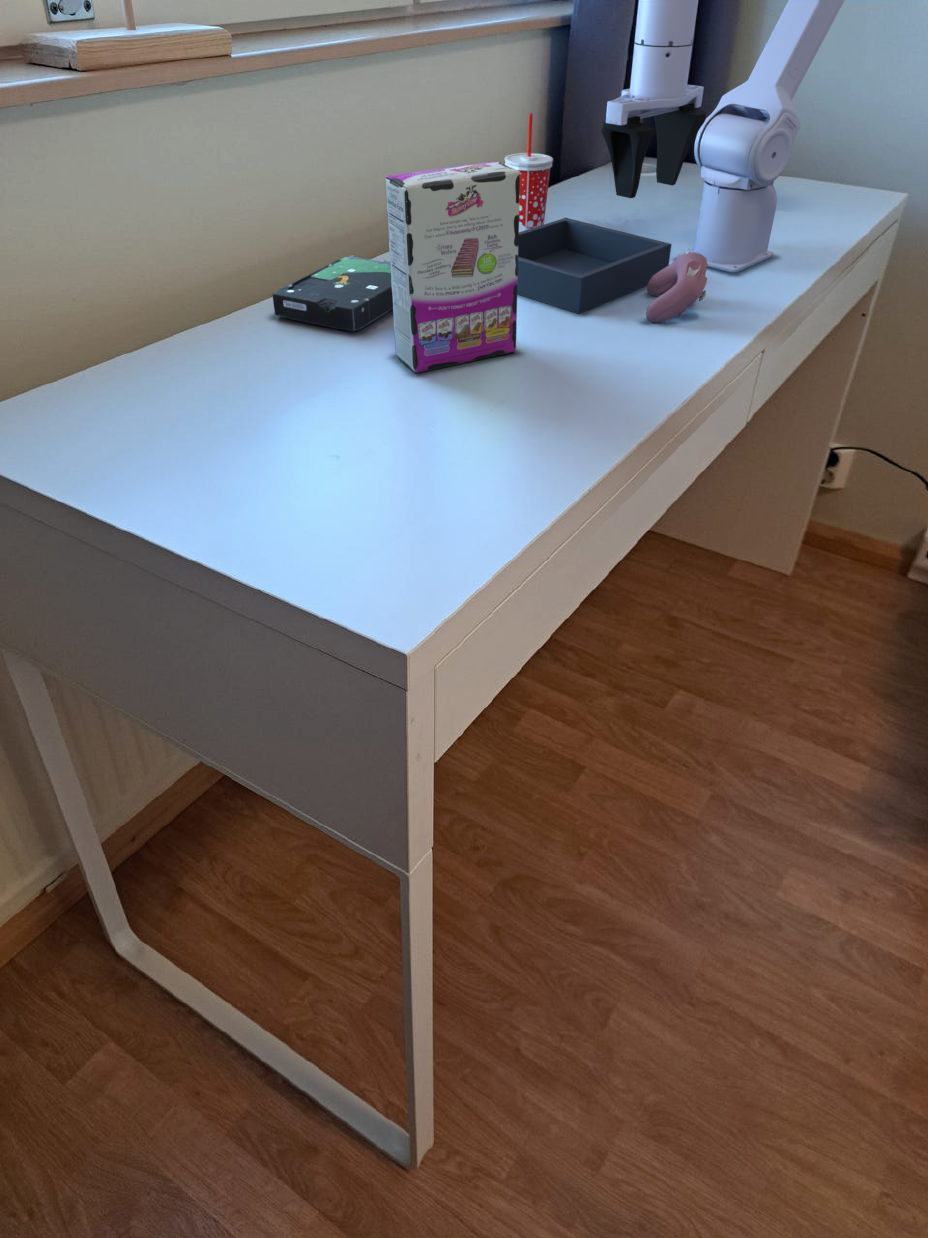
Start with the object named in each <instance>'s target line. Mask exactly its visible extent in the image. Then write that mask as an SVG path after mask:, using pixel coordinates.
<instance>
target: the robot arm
mask: <svg viewBox="0 0 928 1238" xmlns="http://www.w3.org/2000/svg"><path fill="white" fill-rule="evenodd" d="M844 2H845V0H788V1H787V2H786V5H785V6H784V9H783V11H782V13H781V14H780V17H779V18H778V21H777V23H776V24H775V27H774V28H773V30H772V32H771V34H770V36H769V38H768V40H767V41H766V43H765V46H764V47H763V50H762V52H761V54H760V56H759V57H758V60H757V61H756V64H755V65H754V68H753V69H752V71H751V73H750V75H749V77H748V79H747V80H746V81H745V82H743V83H742V84H740V85H738V86H736V87H735V88H733V89H730V90H729V91H727V92H726V93H725V94H723V95H722V96H721V98H720V100H719V102H718V104H717V106H716V107H715V109H714V110H713V111H712V113H710V114H709V115H708V116H707V112H706V111H704V110H697V108H701V107H702V103H703V95H704V89H705V86H701V85H694V84H688V79H689V72H690V65H691V58H692V49H693V42H694V35H695V27H696V20H697V14H698V5H699V0H638V5H637V15H636V23H635V24H636V25H635V35H634V44H633V45H634V46H633V55H632V65H631V75H630V84H629V85H630V86H629V88H626V89H622V90H621V94H620V97H617V98H615V99H612V100H609V101H607V103H606V112H605V119H602V120H601V122H600V132H601V135H602V136H603V139H604V142H605V143H606V147H607V149H608V153H609V156H610V160H611V166H612V167H611V168H612V172H613V180H614V187H615V195H616V196H618V197H621V198H622V197H623V198H626V199H634V198H636V195H637V192H638V190H639V186H640V180H641V175H642V169H643V165H644V161H645V159H646V154H647V151H648V149H649V146H650V143H651V141H652V140H653V137H654V135H656V166H655V175H656V177H655V178H656V183H659V184H662V185H668V186H675V185H676V183H677V181H678V179H679V176H680V174H681V170H682V168H683V165H684V162H685V159H686V157H687V155H688V152H689V149H690V147H691V145H692V143H693V142H694V149H693V153H694V155H693V156H694V159H695V162H696V164H697V167H699V168H700V178H702V179H704V182H703V188H702V194H701V202H700V208H699V209H700V210H699V213H698V220H697V221H698V222H697V228H696V233H695V234H696V235H695V241H694V248H693V249H689V251H690V252H691V253H692V252H695V253H699V254H701V255H703V256H704V257H706V259H707V268H708V267H709V268H712V269H716V270H720V271H724V272H727V273H732V274H734V273H735V274H736V273H738V272H740V271H742V270H745V269H748V268H749V267H752V266H754V265H756V264H758V263H761V262H763V261H765V260H768V259H770V258H772V257H774V254H775V253H774V251H771V250H769V246H770V245H769V244H770V239H771V234H772V229H773V225H774V220H775V215H776V209H777V205H778V204H777V203H778V195H777V191H776V189H775V186H774V182H775V181H776V180H777V179H778V178H779V177H780V176H781V174H782V173H783V171H784V169H785V168H786V167H787V164H788V162H789V160H790V156H791V153H792V147H793V144H794V140H795V138H796V136H797V134H798V132H799V131H800V129H801V122H800V119H799V116H798V112H797V111H796V108H795V105H794V104H793V102H792V101H793V98H794V97H795V95H796V93H797V91H798V89H799V87H800V86H801V84H802V82H803V80H804V78H805V76H806V74H807V72H808V71H809V69H810V67H811V64H812V63H813V61H814V59H815V57H816V55H817V53H818V52H819V50H820V48H821V46H822V44H823V42H824V40H825V39H826V37H827V35H828V33H829V30H830V29H831V28H832V25H833V23H834V22H835V19H836V17H837V16H838V14H839V12H840V10H841V8H842V6H843V4H844ZM650 117H653V121H654V125H655V127H649V126H643V125H644V123H643V122H641V120H643V119H644V118H645V119H646V118H650ZM694 140H695V141H694ZM686 252H687V251H685V252H683V253H680V254H679V255H678V257H679V256H680V255H681V254H686Z"/></svg>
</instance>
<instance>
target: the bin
mask: <svg viewBox="0 0 928 1238" xmlns="http://www.w3.org/2000/svg"><path fill="white" fill-rule="evenodd" d="M671 252H672V243H670V242H665V241H663V240H662V241H661V240H658V239H653V238H650V237H645V236H641V235H637V234H633V233H629V232H625V231H621V230H618V229H613V228H609V227H606V226H601V225H598V224H593V223H589V222H585V221H580V220H576V219H573V218H569V217H563V218H561V219H557V220H553V221H550V222H548V223H544V225H541V226H538V227H535V228H531V229H528V230H525V231H522V232H519V239H518V283H517V296H518V295H519V296H522V297H525V298H527V299H531V300H534V301H537V302H539V303H540V302H541V303H544V304H547V305H549V306H553V307H556V308H560V309H562V310H565V311H568V312H572V313H575V314H578V315H580V314H582V313H585V312H587V311H589V310H592V309H594V308H596V307H599V306H602V305H603V304H607V303H609V302H611V301H614V300H616V299H618V298H621V297H624V296H625V295H628V294H631V293H633V292H635V291H638V290H640V289H642V288H645V287H647V284H648V282H649V280H650V279H651V278H652V277H653V275H655V274H656V273H658V272H659V271H661V270H662V269H664V268H666V267H667V266H669V265H670V258H671Z"/></svg>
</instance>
